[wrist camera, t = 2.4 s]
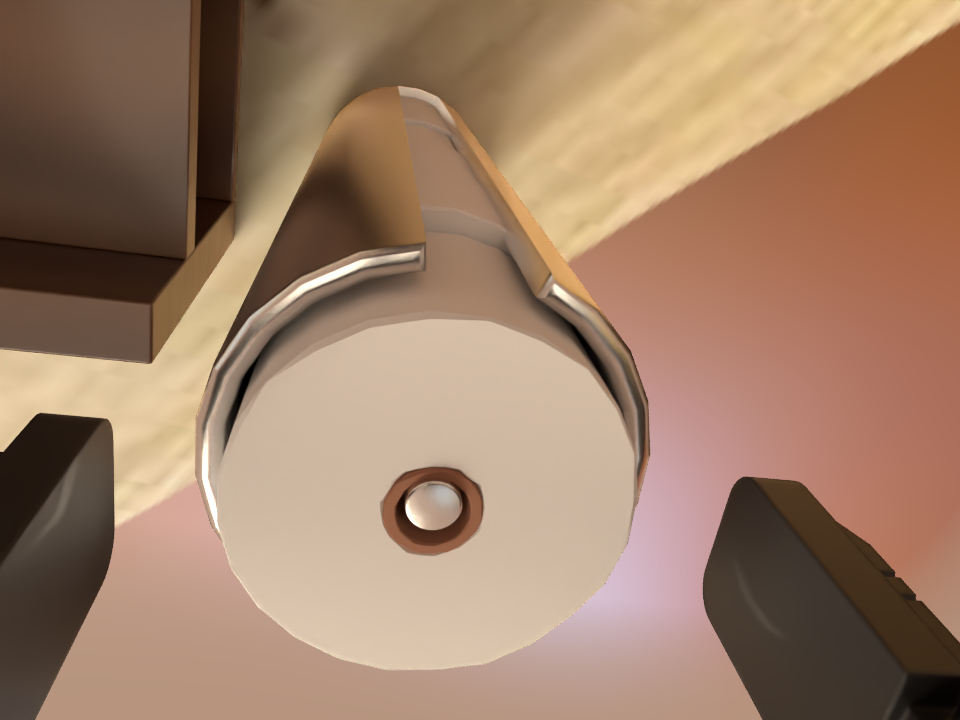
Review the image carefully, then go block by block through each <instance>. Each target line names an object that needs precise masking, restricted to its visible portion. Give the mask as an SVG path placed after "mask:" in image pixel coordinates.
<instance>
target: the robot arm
mask: <svg viewBox="0 0 960 720" xmlns="http://www.w3.org/2000/svg"><path fill="white" fill-rule="evenodd" d="M113 542H114V456H113V431H112V426H111V424H110V422H109V420H108V419H103V418H92V417H81V416H69V415H58V414H47V413H39V414H37V415H36V416H35V417H34V418H33V419H32V420H31V421H30V422H29V423H28V424H27V426H26V427H25V428H24V429H23V430H22V431H21V432H20V434H19V435H18V436H17V437H16V438H15V439H14V440H13V442H12V443H11V444H10V445H9V446H8V447H7V448H6V450H5V451H4V452H0V720H35V719H36V717H37V715H38V713H39V711H40V709H41V707H42V705H43V703H44V701H45V699H46V697H47V694H48V693H49V691H50V689H51V686H52V684H53V683H54V680H55V679H56V677H57V674H58V672H59V670H60V668H61V666H62V664H63V662H64V660H65V658H66V656H67V654H68V652H69V650H70V648H71V646H72V644H73V642H74V640H75V638H76V636H77V634H78V632H79V630H80V628H81V626H82V624H83V622H84V620H85V618H86V616H87V614H88V612H89V610H90V608H91V606H92V604H93V602H94V600H95V598H96V596H97V594H98V592H99V590H100V588H101V586H102V584H103V581H104V579H105V576H106V574H107V570H108V567H109V563H110V559H111V554H112V548H113ZM703 599H704V606H705V610H706V613H707V616H708V618H709V620H710V622H711V624H712V626H713V628H714V630H715V632H716V633H717V635H718V637H719V639H720V641H721V643H722V645H723V647H724V648H725V650H726V652H727V654H728V656H729V658H730V660H731V661H732V663H733V665H734V667H735V669H736V671H737V673H738V675H739V676H740V678H741V680H742V682H743V684H744V686H745V688H746V690H747V691H748V693H749V695H750V697H751V699H752V701H753V702H754V704H755V706H756V708H757V710H758V712H759V714H760V716H761V718H762V719H763V720H960V643H959V641H958V640H957V639H956V638H955V637H954V636H953V635H952V634H951V633H950V632H949V630H948V629H947V628H946V627H945V626H944V625H943V624H942V623H941V622H940V621H939V620H938V618H937V617H936V616H935V615H934V614H933V613H932V612H931V611H930V610H929V609H928V608H927V606H926V605H925V604H924V603H923V602H922V601H916V594H915V593H914V592H913V591H912V590H911V589H910V588H909V587H908V586H907V585H906V584H905V583H904V581H903V580H902V579H901V578H898V577H895V571H894V570H893V569H892V568H891V567H890V566H889V565H888V564H887V563H886V562H885V561H884V559H883V558H882V557H881V556H880V555H879V554H878V553H877V552H876V551H875V550H874V549H873V547H872V546H871V545H870V544H868V543H867V542H865V541H864V540H862V539H861V538H859V537H858V536H857V535H855V534H854V533H852V532H851V531H849V530H848V529H847V528H845V527H843V526H842V525H841V524H839V523H838V522H836V521H835V520H834V518H833V517H832V516H831V515H830V514H829V513H828V512H827V511H826V509H825V508H824V507H823V506H822V505H821V504H820V503H819V501H818V500H817V499H816V498H815V497H814V496H813V495H812V494H811V493H810V491H809V490H808V489H807V488H806V487H805V486H804V485H803V484H802V483H800V482H797V481H790V480H778V479H767V478H755V477H742V478H741V479H739V480H738V481H737V482H736V483H735V484H734V486H733V488H732V490H731V492H730V495H729V498H728V501H727V504H726V507H725V510H724V513H723V516H722V520H721V523H720V526H719V529H718V532H717V535H716V538H715V541H714V544H713V547H712V550H711V553H710V556H709V559H708V563H707V566H706V569H705V573H704V578H703Z"/></svg>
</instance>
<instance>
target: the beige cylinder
mask: <svg viewBox="0 0 960 720" xmlns="http://www.w3.org/2000/svg"><path fill="white" fill-rule="evenodd" d="M649 457H650V439H649V409H648V399H647V397H646V394H645V391H644V388H643V385H642V382H641V379H640V377H639V373H638V371H637V368H636V365H635V362H634V359H633V356H632V353H631V351H630V349H629V348H628V347H627V345H626V344H625V343H624V341H623V340H622V338H621V337H620V336H619V334H618V333H617V332H616V330H615V329H614V327H613V326H612V325H611V323H610V322H609V321H608V319H607V318H606V317H605V315H604V314H603V312H602V311H601V310H600V308H599V307H598V306H597V304H596V303H595V301H594V300H593V299H592V297H591V296H590V294H589V293H588V292H587V290H586V289H585V288H584V286H583V285H582V283H581V282H580V281H579V279H578V278H577V277H576V275H575V274H574V272H573V271H572V270H571V268H570V267H569V266H568V264H567V263H566V262H565V260H564V259H563V257H562V256H561V255H560V253H559V252H558V251H557V249H556V248H555V246H554V245H553V244H552V242H551V241H550V240H549V238H548V237H547V235H546V234H545V233H544V231H543V230H542V229H541V227H540V226H539V224H538V223H537V222H536V220H535V219H534V218H533V216H532V215H531V213H530V212H529V211H528V209H527V208H526V207H525V205H524V204H523V202H522V201H521V200H520V198H519V197H518V196H517V194H516V193H515V191H514V190H513V189H512V187H511V186H510V185H509V183H508V182H507V180H506V179H505V178H504V176H503V175H502V174H501V172H500V171H499V169H498V168H497V167H496V165H495V164H494V163H493V161H492V160H491V159H490V157H489V156H488V154H487V153H486V152H485V150H484V149H483V148H482V146H481V145H480V143H479V142H478V141H477V139H476V138H475V137H474V135H473V134H472V132H471V131H470V130H469V128H468V127H467V126H466V124H465V123H464V121H463V120H462V119H461V117H460V116H459V115H458V113H457V112H456V111H455V110H454V109H453V108H452V107H450V106H449V105H448V104H447V103H445V102H444V101H443V100H442V99H441V98H439V97H437V96H435V95H433V94H431V93H428V92H426V91H424V90H421V89H419V88H412V87H405V86H398V85H397V86H390V87H382V88H376V89H374V90H371V91H369V92H367V93H365V94H362V95H360V96H358V97H356V98H355V99H354V100H352V101H351V102H350V103H349V104H348V105H346V106H345V107H344V108H343V109H341V110H340V112H339V113H338V115H337V116H336V117H335V119H334V120H333V122H332V123H331V125H330V126H329V128H328V130H327V132H326V134H325V136H324V138H323V140H322V142H321V144H320V146H319V148H318V150H317V152H316V154H315V156H314V158H313V160H312V162H311V165H310V167H309V169H308V171H307V173H306V175H305V177H304V179H303V181H302V183H301V185H300V187H299V189H298V191H297V193H296V195H295V197H294V199H293V202H292V204H291V206H290V208H289V210H288V212H287V214H286V216H285V218H284V220H283V222H282V224H281V226H280V228H279V230H278V232H277V234H276V237H275V239H274V241H273V243H272V245H271V247H270V249H269V251H268V253H267V255H266V257H265V259H264V261H263V263H262V265H261V267H260V269H259V271H258V274H257V276H256V278H255V280H254V282H253V284H252V286H251V288H250V290H249V292H248V294H247V296H246V298H245V300H244V302H243V304H242V306H241V308H240V311H239V313H238V315H237V317H236V319H235V321H234V323H233V325H232V327H231V329H230V331H229V333H228V335H227V337H226V339H225V341H224V343H223V346H222V348H221V350H220V352H219V354H218V356H217V358H216V360H215V362H214V364H213V367H212V370H211V373H210V376H209V379H208V382H207V385H206V388H205V391H204V394H203V397H202V400H201V403H200V406H199V409H198V412H197V415H196V436H195V475H196V478H197V482H198V485H199V488H200V491H201V495H202V498H203V501H204V504H205V508H206V511H207V514H208V517H209V521H210V524H211V526H212V528H213V529H214V531H215V532H216V534H217V535H218V537H219V538H220V540H221V541H222V543H223V545H224V548H225V551H226V555H227V558H228V561H229V564H230V568H231V569H232V571H233V572H234V574H235V575H236V576H237V578H238V579H239V581H240V582H241V584H242V585H243V587H244V588H245V589H246V591H247V592H248V594H249V595H250V597H251V598H252V599H253V601H254V602H255V604H256V605H257V607H259V608H260V609H261V610H262V611H263V612H265V613H266V614H267V615H268V616H270V617H271V618H272V619H273V620H274V621H276V622H277V623H278V624H279V625H280V626H282V627H283V628H284V629H285V630H286V631H288V632H289V633H290V634H291V635H293V636H294V637H295V638H297V639H299V640H302V641H304V642H305V643H308V644H310V645H312V646H314V647H316V648H318V649H320V650H322V651H324V652H326V653H328V654H330V655H332V656H334V657H336V658H338V659H343V660H346V661H351V662H355V663H359V664H364V665H368V666H372V667H376V668H380V669H384V670H438V669H447V668H455V667H464V666H472V665H481V664H487V663H488V662H491V661H494V660H496V659H498V658H500V657H503V656H505V655H508V654H510V653H512V652H514V651H517V650H519V649H521V648H524V647H526V646H528V645H531V644H532V643H534V642H535V641H537V640H538V639H539V638H541V637H542V636H543V635H545V634H546V633H548V632H549V631H551V630H552V629H553V628H555V627H556V626H558V625H559V624H560V623H562V622H563V621H565V620H566V619H567V618H569V617H570V616H572V615H573V614H574V613H575V612H576V611H577V610H578V609H579V608H580V607H581V606H582V605H583V604H584V603H585V602H586V601H587V600H588V599H589V598H590V597H592V596H593V595H594V594H595V593H596V592H597V591H598V590H599V589H600V588H601V587H602V586H603V585H604V584H605V583H606V581H607V579H608V577H609V576H610V574H611V572H612V570H613V569H614V567H615V565H616V563H617V561H618V560H619V558H620V556H621V554H622V553H623V551H624V549H625V547H626V545H627V544H628V540H629V535H630V530H631V525H632V521H633V516H634V511H635V507H636V506H637V503H638V500H639V496H640V492H641V488H642V484H643V481H644V477H645V473H646V469H647V465H648V461H649Z"/></svg>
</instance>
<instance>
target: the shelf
mask: <svg viewBox="0 0 960 720" xmlns="http://www.w3.org/2000/svg"><path fill="white" fill-rule="evenodd" d="M243 20H244V0H0V349H5V350H15V351H25V352H35V353H45V354H56V355H66V356H76V357H86V358H96V359H106V360H116V361H126V362H136V363H146V364H150V363H152V362H153V361H154V359H155V358H156V356H157V355H158V353H159V352H160V350H161V349H162V347H163V345H164V344H165V342H166V341H167V339H168V338H169V336H170V335H171V333H172V332H173V330H174V329H175V327H176V326H177V324H178V323H179V321H180V320H181V318H182V317H183V315H184V314H185V312H186V311H187V309H188V308H189V306H190V305H191V303H192V302H193V300H194V299H195V297H196V296H197V294H198V293H199V291H200V290H201V288H202V287H203V285H204V284H205V282H206V281H207V279H208V278H209V276H210V275H211V273H212V271H213V270H214V268H215V267H216V265H217V264H218V262H219V261H220V259H221V258H222V256H223V255H224V253H225V252H226V250H227V249H228V247H229V246H230V244H231V243H232V241H233V240H234V220H235V197H236V175H237V153H238V131H239V109H240V87H241V65H242V43H243Z"/></svg>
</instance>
